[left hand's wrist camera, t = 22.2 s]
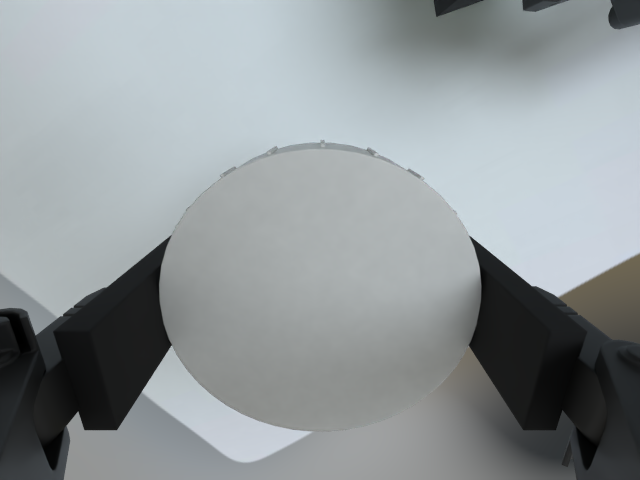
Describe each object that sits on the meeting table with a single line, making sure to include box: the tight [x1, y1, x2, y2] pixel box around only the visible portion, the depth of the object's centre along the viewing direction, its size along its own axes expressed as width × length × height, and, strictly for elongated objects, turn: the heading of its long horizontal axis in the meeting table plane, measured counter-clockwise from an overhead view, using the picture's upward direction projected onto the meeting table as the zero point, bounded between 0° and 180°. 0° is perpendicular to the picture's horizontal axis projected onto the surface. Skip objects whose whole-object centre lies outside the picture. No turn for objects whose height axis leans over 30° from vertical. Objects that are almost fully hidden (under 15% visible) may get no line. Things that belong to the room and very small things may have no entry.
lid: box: [159, 140, 482, 431], centre depth 11 cm, size 10×10×2 cm
